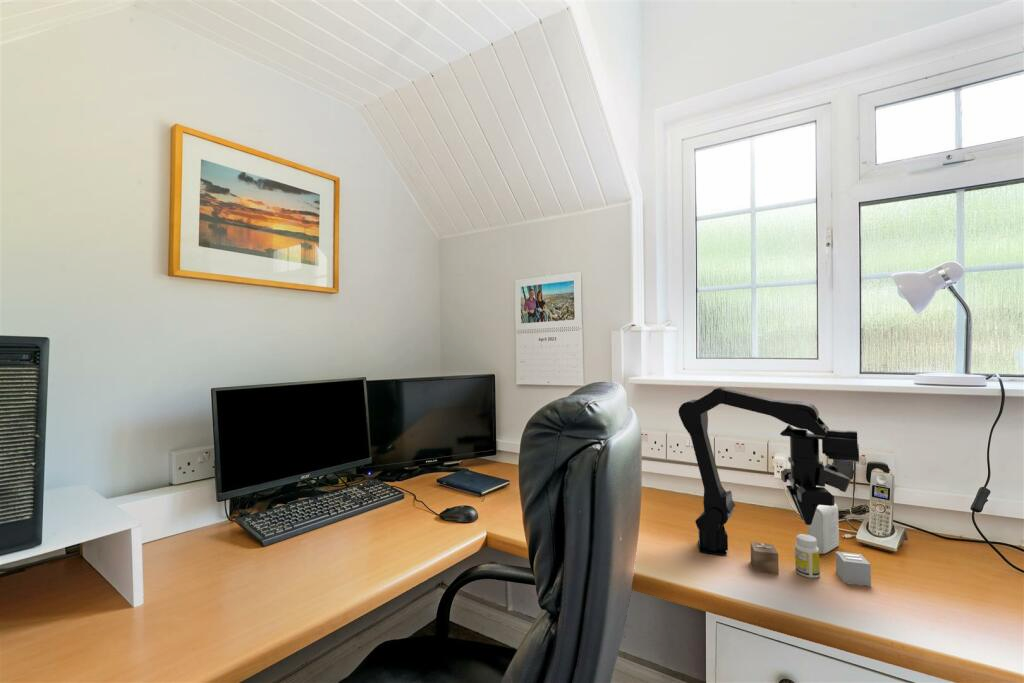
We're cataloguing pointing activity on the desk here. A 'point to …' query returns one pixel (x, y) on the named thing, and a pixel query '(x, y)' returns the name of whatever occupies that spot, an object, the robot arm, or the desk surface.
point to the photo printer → (825, 528)
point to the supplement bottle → (807, 556)
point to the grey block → (853, 568)
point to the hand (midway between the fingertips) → (806, 522)
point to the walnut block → (764, 558)
